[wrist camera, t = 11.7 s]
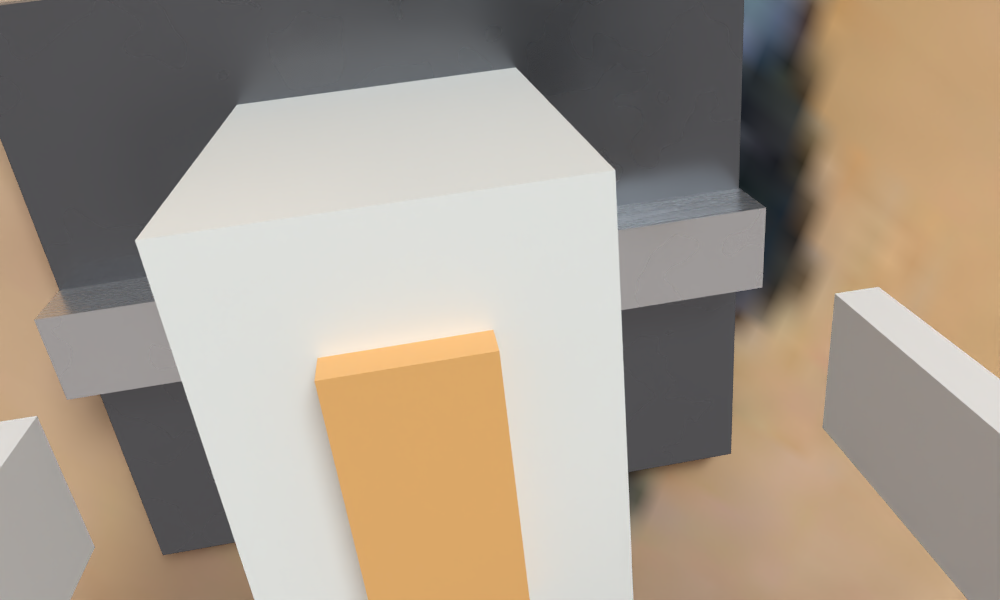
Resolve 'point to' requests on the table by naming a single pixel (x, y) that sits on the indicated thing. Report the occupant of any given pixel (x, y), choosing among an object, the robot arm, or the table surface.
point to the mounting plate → (359, 64)
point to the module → (405, 343)
